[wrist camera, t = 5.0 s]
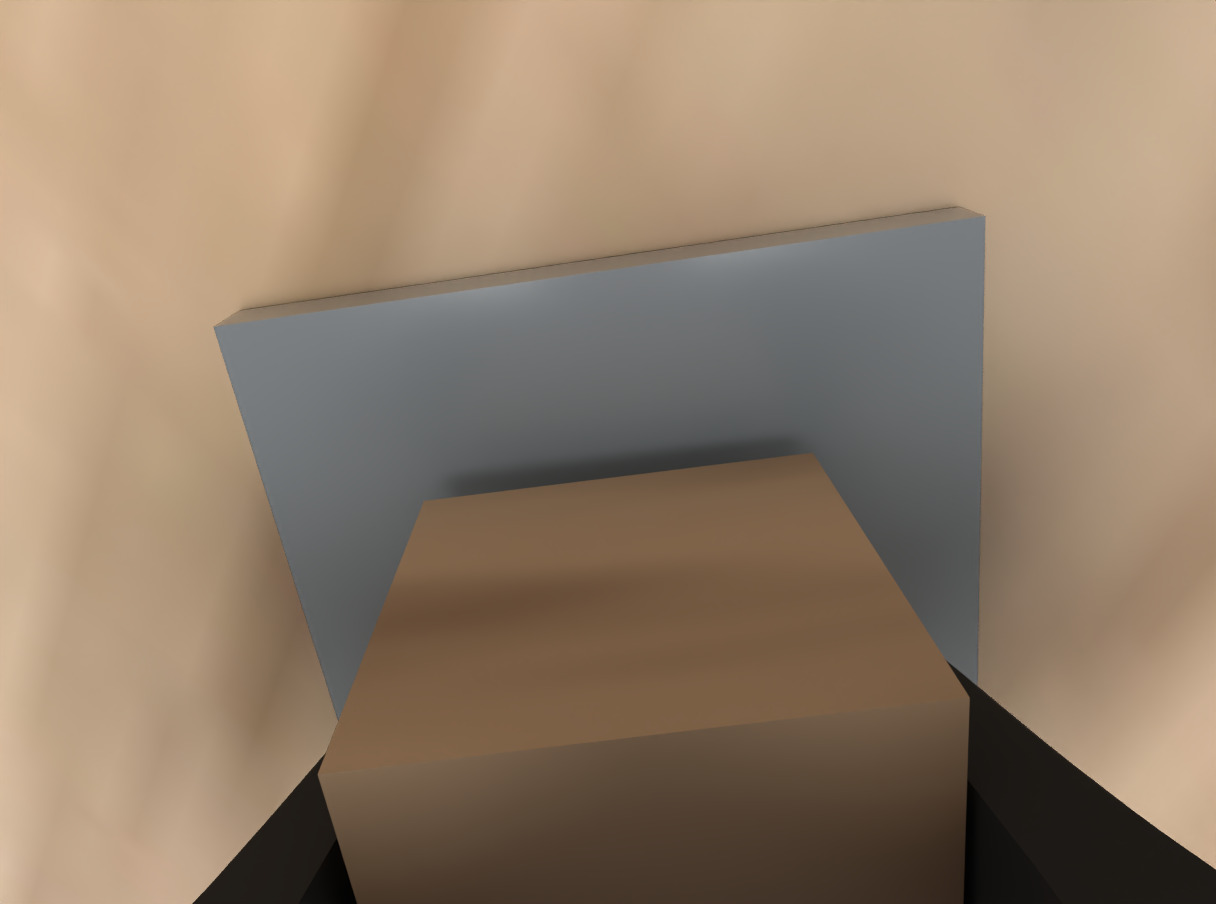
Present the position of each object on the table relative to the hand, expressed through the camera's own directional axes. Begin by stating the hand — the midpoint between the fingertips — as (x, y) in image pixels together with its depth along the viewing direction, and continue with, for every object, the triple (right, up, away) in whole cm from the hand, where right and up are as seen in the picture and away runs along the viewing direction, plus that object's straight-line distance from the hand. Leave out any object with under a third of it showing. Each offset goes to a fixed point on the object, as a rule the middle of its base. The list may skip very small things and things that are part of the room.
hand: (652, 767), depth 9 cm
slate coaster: (0, +1, +4) cm, 4 cm away
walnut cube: (0, +1, +2) cm, 2 cm away
